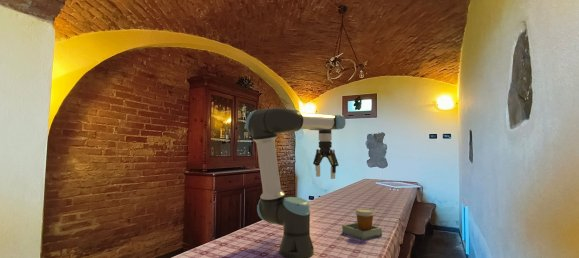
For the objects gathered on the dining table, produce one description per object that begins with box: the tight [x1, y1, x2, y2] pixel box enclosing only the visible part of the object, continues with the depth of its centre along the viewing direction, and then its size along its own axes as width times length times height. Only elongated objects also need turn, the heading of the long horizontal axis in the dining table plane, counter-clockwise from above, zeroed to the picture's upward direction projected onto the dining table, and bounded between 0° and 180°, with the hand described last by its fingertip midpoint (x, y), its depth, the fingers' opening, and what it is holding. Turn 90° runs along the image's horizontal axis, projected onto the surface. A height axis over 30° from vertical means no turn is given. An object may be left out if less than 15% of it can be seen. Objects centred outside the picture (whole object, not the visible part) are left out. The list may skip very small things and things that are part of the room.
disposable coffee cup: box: [355, 208, 375, 231], centre depth 156 cm, size 10×10×12 cm
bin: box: [341, 222, 383, 241], centre depth 157 cm, size 14×15×4 cm
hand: (325, 177), depth 170 cm, fingers open, 13 cm apart
